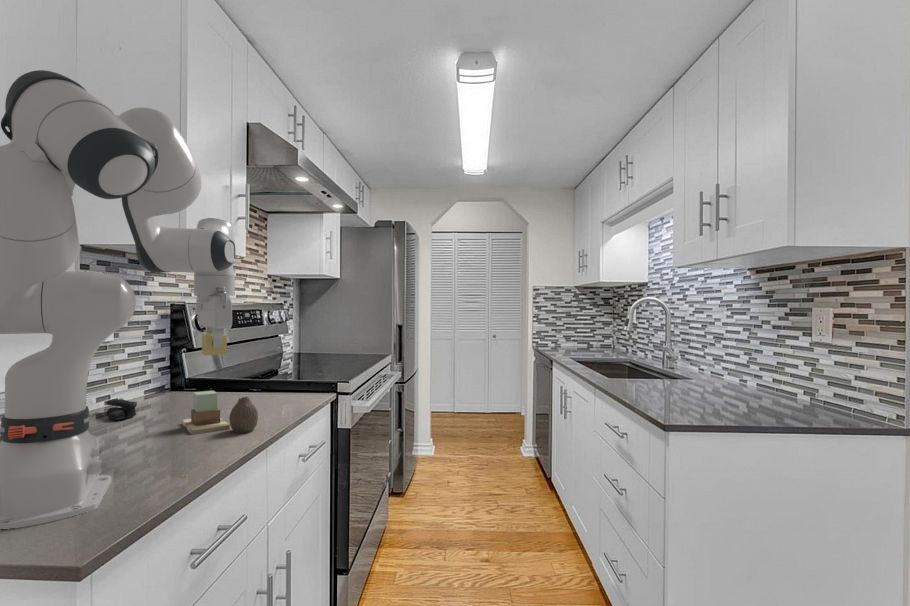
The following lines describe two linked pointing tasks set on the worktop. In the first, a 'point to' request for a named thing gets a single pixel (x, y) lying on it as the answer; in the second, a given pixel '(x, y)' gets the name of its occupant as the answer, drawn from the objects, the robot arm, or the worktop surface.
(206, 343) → the ochre brick
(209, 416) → the walnut brick
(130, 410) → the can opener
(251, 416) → the vase
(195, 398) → the sage brick
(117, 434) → the worktop surface
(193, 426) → the board
